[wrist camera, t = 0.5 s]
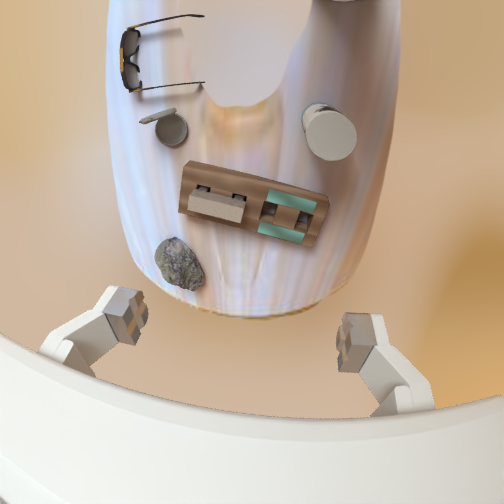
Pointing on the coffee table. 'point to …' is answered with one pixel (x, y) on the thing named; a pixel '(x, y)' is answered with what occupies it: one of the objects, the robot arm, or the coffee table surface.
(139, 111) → the coffee table surface
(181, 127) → the pocket watch
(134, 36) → the sunglasses
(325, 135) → the cup
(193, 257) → the mineral rock
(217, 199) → the tall white block
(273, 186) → the slotted brown block
